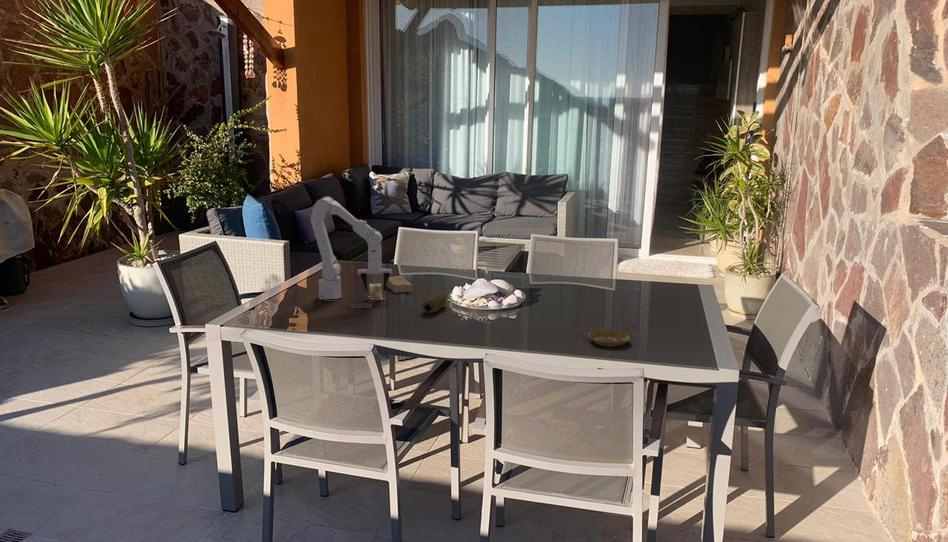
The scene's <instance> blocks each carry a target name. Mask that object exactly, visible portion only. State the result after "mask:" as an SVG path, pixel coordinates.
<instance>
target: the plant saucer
mask: <svg viewBox="0 0 948 542" xmlns="http://www.w3.org/2000/svg"><path fill="white" fill-rule="evenodd" d="M588 337H589V339H591V341H592V342H593V343H595V344H596V345H598V344H599V346H601V345H602V346H603V347H607V346H609V347H610V348H611V347H612V348H614V347H615V346H617V347H621V345H622V346H624V345H625V344H626V343H628V341H629V340H630V339H631V337H630V334H628V333H625V332H624V331H623V332H622V331H619V330H613V329H596V330H592V331H590V332H589V333H588ZM605 337H608V339H612V338H614V339H612V341H614V340H615V341H617V340H616V338H619V339H621V340H623V342H604V341H599V339H601V338H602V339H603V338H605ZM602 339H601V340H602ZM609 347H608V348H609ZM615 348H616V347H615Z"/></svg>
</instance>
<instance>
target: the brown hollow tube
mask: <svg viewBox="0 0 948 542" xmlns="http://www.w3.org/2000/svg"><path fill="white" fill-rule="evenodd" d="M447 302H448V297H447V295H446V294H445V293H444V292H442V291H437V292H434V294H432V295H431V296H430V297H428V298H427V299H426V300H425V301H424V302H423V303H422V304H421V310H422V311H423V312H424V313H426V314H433V313H436V312H438V311H439V310H441V309H442V308H443V307H444V306H445V305H446V303H447Z"/></svg>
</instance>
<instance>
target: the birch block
mask: <svg viewBox="0 0 948 542" xmlns="http://www.w3.org/2000/svg"><path fill="white" fill-rule="evenodd" d="M368 286H369V297H370V300H382V296H383V295H382V291H383V289H382V288H383V287H382V283H369V285H368Z"/></svg>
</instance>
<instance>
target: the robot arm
mask: <svg viewBox="0 0 948 542" xmlns="http://www.w3.org/2000/svg"><path fill="white" fill-rule="evenodd" d="M328 214H329V215H337V216H338V217H339V218H341V219H342V220H344V221H345V222H346V223H348V224H349V225H350V226H352V230H353V232H355V233H356V234H357V235H359V236H360V238H362V239H364V240H365V241H366V243H367V247H368V249H367V257H368V258H367V260H368V261H367V263H368V264H367V267H368V268H361V269H357V275H358V276H360V279H361V280H362V283H363V285H364V289H365V292H368V281H367V280H368V279H367V278H368V277H367V275H383V284H382V285H383V287H382V288H383V289H382V291H383V292H384V291H385V292H386V288H387V286H386V284H387V281H388V279H389V277H391V276H390V275H392V274H393V269H392V268H382V267H383V266H382V261H383V260H382V258H383V257H382V255H383V254H382V253H383V252H382V240H383V235H382V233H381V232H380V231H379V230H376V228H372V227H371V226H370V225H369V224H367V222H368V221H367V220H363V219H357V218H356V217H355V216H354V215H352V214H351V212H349V211H348V210H347V209H346V208H345V207H343V206H342V205H341V204H340V203H339V202H338V201H336V200H334V198H332V197H331V196H324V197H322V198H320V199H318V200H317V201H316V202H315V203H314V204H313V206H312V212H311V215H310V223H311V226H312V230H313V233H314V237H315V239H316V243H317V247H318V250H319V253H320V256H321V267H322V271H321V275H322V277H323V278H321V279H320V278H319V279H318V298H319V299H338V298H340V297H341V295H342V292H341V291H342V287H341V286H342V285H341V284H342V283H341V281H342V280H341V275H340V274H341V272H342V267H341V266H342V265H341V264H340V263H339V262H338V260H337V258H336V255H334V252H333V249H332V246H331V245H332V244H331V242H330V238H329V236H328V235H329V234H328V232H327V231H328V230H327V228H326V225H325V221H324V220H325V218H327V215H328ZM322 296H323V297H322Z"/></svg>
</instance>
